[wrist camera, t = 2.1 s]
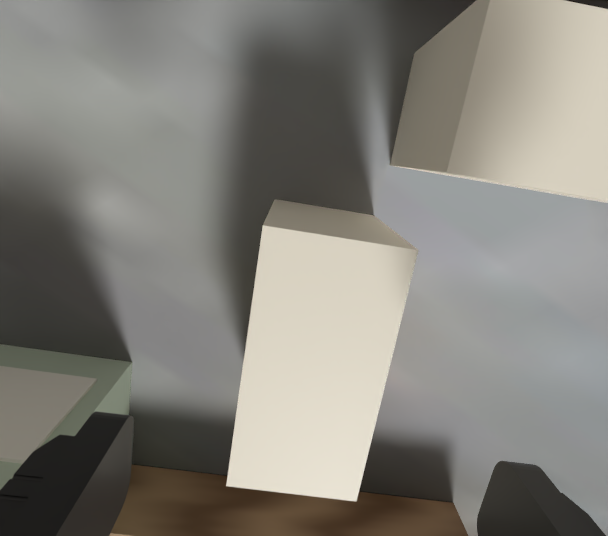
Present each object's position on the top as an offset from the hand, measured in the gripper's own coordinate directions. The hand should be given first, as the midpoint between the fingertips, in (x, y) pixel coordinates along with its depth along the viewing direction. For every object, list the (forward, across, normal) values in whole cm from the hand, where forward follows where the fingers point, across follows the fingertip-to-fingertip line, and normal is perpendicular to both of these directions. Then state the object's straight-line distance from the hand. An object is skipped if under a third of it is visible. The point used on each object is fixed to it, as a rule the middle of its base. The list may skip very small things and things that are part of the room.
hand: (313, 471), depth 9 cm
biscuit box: (+11, 0, 0) cm, 11 cm away
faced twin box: (+11, -7, -9) cm, 16 cm away
